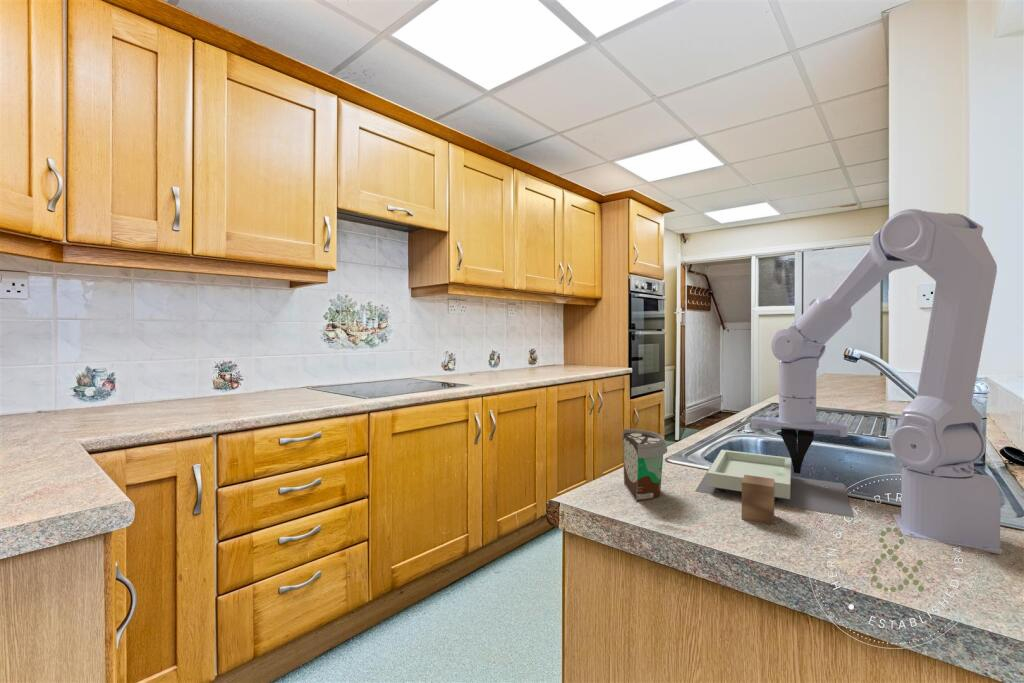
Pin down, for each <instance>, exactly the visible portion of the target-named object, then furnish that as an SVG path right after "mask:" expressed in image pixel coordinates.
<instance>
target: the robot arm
mask: <svg viewBox="0 0 1024 683" xmlns="http://www.w3.org/2000/svg"><path fill="white" fill-rule="evenodd" d="M983 233H984V226H983V225H981V224H979V223H977V222H976V221H974V220H972V218H969V217H967V216H965V215H964V214H961V213H954V212H952V213H950V212H949V213H946V212H935V211H926V210H921V209H918V208H917V209H916V208H908V209H904V210H900V211H898V212H896V213H894V214H892V215H891V216H890V217H888V219H887V220H886V221H885V222H884V224H883V226H882V228H880V229H879V230H877V231H876V232H875V233H874V234H873V235H872V237H871V240H870V245H869V247H868V249H867V250H866V251H865V253H864V254H863V255H862V257H861V258H860V259H858V261H857V263H855V265H854V266H853V267H852V269H851V270H850V271H849V272H848V273H847V275H846V276H845V277H844V278H843V279H842V281H841V282H840V283H839V285H838V286H837V287H836V288H834V290H833V292H832V293H831V294H829V295H821V296H819V297H817V298H813V299H811V301H810V302H809V303H808V305H809V307H808V308H807V309H806V310H805V312H803V313H802V315H800V317H799V318H798V319H797V320H794V321H793V322H792V324H791V326H789V327H787V328H782V329H778V330H777V331H776V333H775V334H774V336H773V337H772V339H771V344H770V345H771V352H772V354H773V356H774V358H776V359H777V360H778V417H775V416H774V417H773V416H770V417H769V416H751V418H750V419H751V422H750V423H751V424H750V426H751V427H750V428H751V429H755V430H756V429H761V430H762V429H764V430H775V431H780V436H781V438H782V441H783V442H784V445H785V446H786V449H787V451H788V454H789V456H790V457H789V458H791V465H792V468H793V473H794V474H801V473H802V472H801V470H802V465H803V462H804V458H805V456H806V454H807V453H808V450H809V448H810V446H811V445H812V443H813V441H814V438H815V434H819V435H829V436H839V437H841V438H842V437H843V438H848V424H847V423H841V422H840V423H839V422H833V421H832V422H831V421H824V420H818V419H817V370H818V368H819V366H820V365H819V364H820V360H821V358H822V357H823V355H824V354H825V352H826V348H827V346H826V343H828V341H829V340H831V338H832V337H834V336H835V334H836V333H838V332H839V331H840V329H842V328H843V327H844V326H845V325H846V324H847V323H848V322H849V321H850V320H851V319H852V307H853V306H854V305H855V304H857V302H859V301H860V300H861V299H862V298H863V297H865V295H867V294H868V293H869V292H870V291H872V289H873V288H875V287H876V286H877V285H878V284H879V283H880V282H881V281H883V280H884V279H885V278H886V277H887V276H888V275H890V273H892V272H894V271H896V270H900V269H906V268H909V267H914V266H917V267H918V268H920V269H921V270H922V271H923V272H924V273H925V274H927V275H928V276H929V277H931V279H933V280H934V281H935V288H934V293H933V298H932V299H933V300H932V304H931V312H930V316H929V317H930V318H929V321H928V322H929V323H928V329H927V334H926V339H925V340H926V341H925V345H924V351H923V356H922V363H921V368H920V374H919V379H918V386H917V393H916V396H915V397H914V398H913V400H912V401H910V403H909V404H908V405H907V406H906V407H904V409H903V410H902V412H901V416H900V420H899V422H898V424H897V426H895V427H894V429H893V430H892V431H891V434H890V435H889V446H890V451H891V452H892V454H893V456H894V457H895V459H897V460H898V462H899V464H900V465H899V466H900V468H901V500H900V501H901V504H900V506H901V507H900V508H901V510H900V514H897V513H896V514H893V518H894V519H895V520H894V521H895V522H896V524H897V526H898V529H899V530H900V532H901V534H902V535H903V536H904V537H909V538H915V539H920V540H927V541H932V542H938V543H945V544H951V545H956V546H961V547H967V548H972V549H978V550H985V551H986V552H987V553H990V554H997V555H1002V553H1003V552H1002V551H1003V550H1002V549H1001V516H1002V515H1001V512H1002V511H1001V509H1002V508H1001V505H1002V502H1001V495H1000V489H999V486H998V483H997V481H996V479H995V478H994V477H992V476H990V475H986V474H979V473H975V470H974V469H975V468H974V466H975V462H977V461H979V460H980V459H981V458H982V457H983V456H984V455H985V452H986V449H987V441H986V438H985V436H984V433H983V430H982V421H983V415H982V414H981V413H980V412H979V410H978V409H977V408H976V407H975V406H974V405H973V403H972V402H973V398H974V391H975V387H976V382H977V377H978V371H979V367H980V361H981V355H982V351H983V345H984V340H985V335H986V331H987V324H988V320H989V315H990V310H991V303H992V300H993V294H994V287H995V283H996V279H997V272H998V270H997V269H998V266H997V262H996V261H995V258H994V256H993V255H992V252H991V251H990V249H989V247H988V245H987V243H986V241H985V240H984V237H983Z"/></svg>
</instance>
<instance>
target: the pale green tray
mask: <svg viewBox="0 0 1024 683" xmlns="http://www.w3.org/2000/svg"><path fill="white" fill-rule="evenodd" d="M710 466H711V467H710ZM710 466H709V468H710V469H709V468H708V469H709V471H708V470H707V471H708V472H707V471H706V473H707V486H710V487H716V488H718V491H722V492H725V489H729V490H735V491H742V480H743V477H744V475H751V476H758V477H765V478H772V479H774V500H778V501H779V498H786V499H790V489H791V477H792V460H791V457H787V456H777V455H769V454H760V453H754V452H753V453H752V452H745V451H735V450H729V449H728V450H727V449H720V451H719V453H718V454H717V456H716V458H715V459H714V461H713V462H712V464H711V465H710Z"/></svg>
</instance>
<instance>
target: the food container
mask: <svg viewBox="0 0 1024 683" xmlns="http://www.w3.org/2000/svg"><path fill="white" fill-rule="evenodd" d="M621 436H622V437H621V440H622V450H623V451H622V452H623V454H622V455H623V457H622V460H623V485H624V487H625V489H626V490H627V491H628V493H629V495H630V496H631V497H632V499H633V501H634V502H635V504H637V503H639V502H646V501H651V500H655V499H657V498H658V497H660V495H661V488H662V478H663V477H662V474H663V463H664V455H665V454H667V452H668V447H667V442H666V440H665V438H664V436H663V435H661V434H659V433H657V432H653V431H650V430H649V431H648V430H644V429H643V430H641V429H635V428H634V429H631V428H630V429H629V428H623V429H622V435H621Z"/></svg>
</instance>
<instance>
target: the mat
mask: <svg viewBox="0 0 1024 683" xmlns="http://www.w3.org/2000/svg"><path fill="white" fill-rule="evenodd" d="M711 466H712V465H710V466H709V468H708V469H707V471H706V473H705V474H704V476H703V477H702V479H701V481H700V482H699V484H698V486H697V487H696V489H695V490H694V492H697V493H703V494H708V495H715V496H721V497H725V498H726V497H727V498H733V499H739V500H742V491H735V490H729V489H725V492H722V491H718V488H716V487H710V486H707V472H708V471H709V469H710V467H711ZM822 486H824V487H822ZM825 487H828V488H825ZM774 506H781V507H786V508H793V509H799V510H804V511H811V512H817V513H822V514H828V515H834V516H835V515H836V516H841V517H845V518H846V517H848V518H852V519H853V518H855V517H854V513H853V510H852V506H851V502H850V500H849V496H848V492H847V488H846V486H845V483H841V482H833V481H827V480H818V479H813V478H804V477H799V476H798V477H797V476H791V489H790V499H786V498H779V501H778V500H774Z"/></svg>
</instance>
